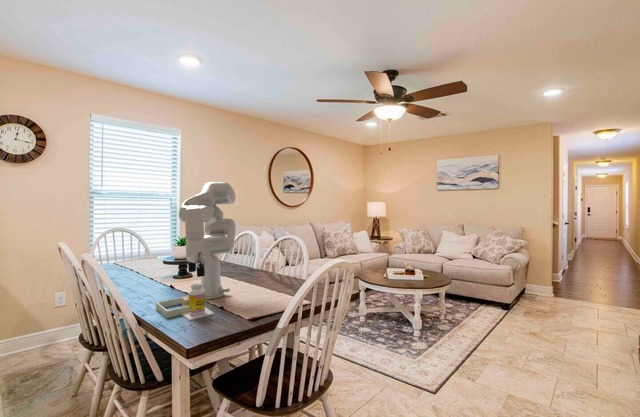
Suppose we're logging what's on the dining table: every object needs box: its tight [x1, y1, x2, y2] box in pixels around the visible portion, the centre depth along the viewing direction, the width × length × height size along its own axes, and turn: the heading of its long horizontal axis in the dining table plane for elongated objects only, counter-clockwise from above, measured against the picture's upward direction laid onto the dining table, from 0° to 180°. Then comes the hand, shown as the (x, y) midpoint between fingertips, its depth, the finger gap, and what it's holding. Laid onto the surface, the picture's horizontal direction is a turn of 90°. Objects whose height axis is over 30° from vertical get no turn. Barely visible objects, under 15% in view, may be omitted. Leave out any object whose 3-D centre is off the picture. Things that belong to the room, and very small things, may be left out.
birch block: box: [181, 295, 189, 308], centre depth 158 cm, size 4×4×4 cm
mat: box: [180, 307, 215, 321], centre depth 149 cm, size 11×11×1 cm
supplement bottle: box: [188, 282, 206, 315], centre depth 148 cm, size 7×7×13 cm
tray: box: [155, 295, 189, 319], centre depth 155 cm, size 16×16×3 cm
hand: (196, 274), depth 148 cm, fingers open, 9 cm apart
